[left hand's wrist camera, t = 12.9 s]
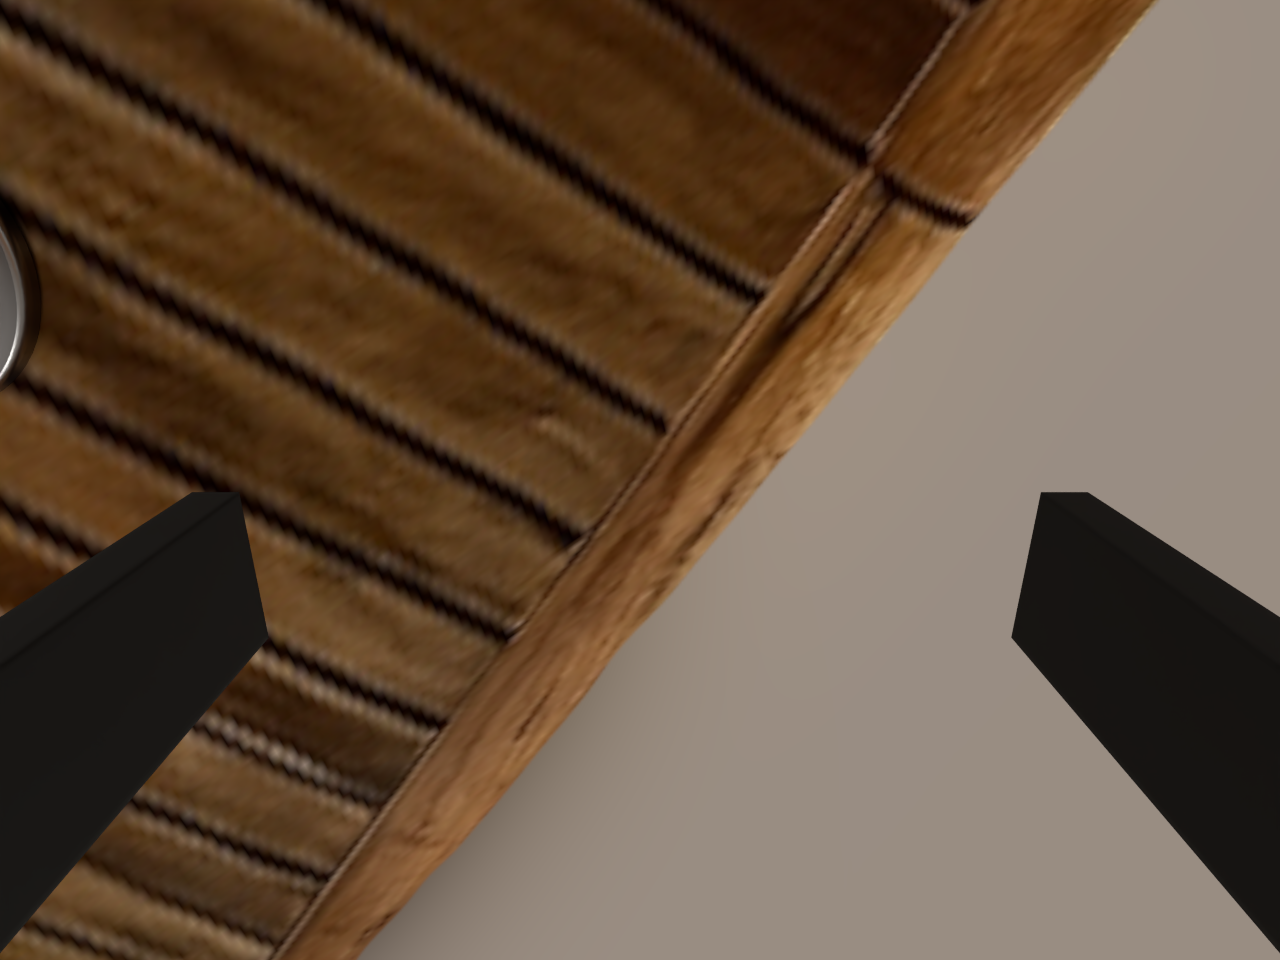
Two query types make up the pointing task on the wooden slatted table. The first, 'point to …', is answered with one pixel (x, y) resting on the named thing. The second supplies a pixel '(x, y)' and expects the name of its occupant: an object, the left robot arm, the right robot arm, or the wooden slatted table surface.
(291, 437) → the wooden slatted table surface
